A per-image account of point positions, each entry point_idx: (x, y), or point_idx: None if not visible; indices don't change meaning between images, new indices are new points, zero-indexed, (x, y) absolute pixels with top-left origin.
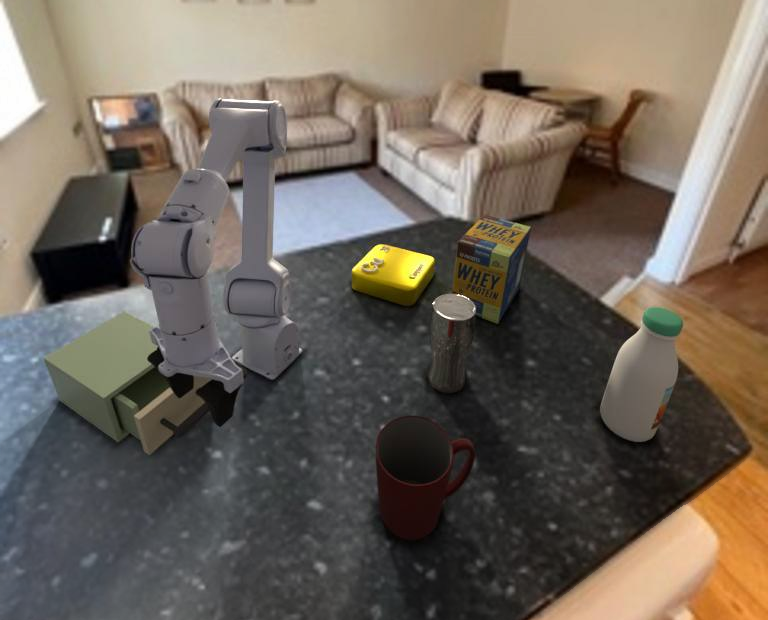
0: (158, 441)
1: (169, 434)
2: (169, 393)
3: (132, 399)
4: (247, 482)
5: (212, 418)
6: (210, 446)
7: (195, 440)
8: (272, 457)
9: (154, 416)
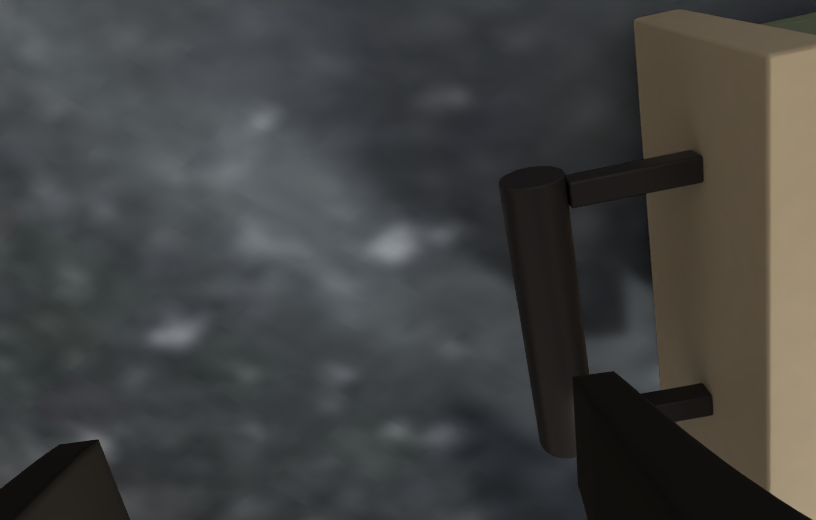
0: (649, 88)
1: (648, 149)
2: (783, 311)
3: None
4: (172, 260)
5: (45, 488)
6: (454, 245)
7: None
8: (204, 384)
9: (731, 148)
